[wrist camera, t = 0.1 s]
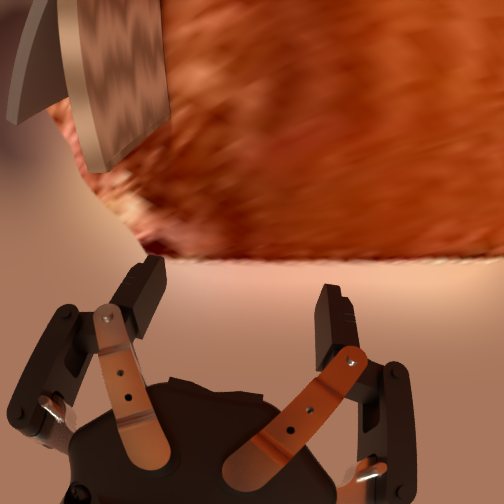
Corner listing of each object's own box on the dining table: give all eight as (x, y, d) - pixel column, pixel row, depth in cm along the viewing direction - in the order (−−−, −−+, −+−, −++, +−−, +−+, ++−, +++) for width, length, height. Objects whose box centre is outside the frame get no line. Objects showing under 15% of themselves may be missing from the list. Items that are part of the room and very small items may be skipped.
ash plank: (143, -2, 19) (56, -4, 9) (160, -6, 18) (77, -15, 8) (155, 119, 30) (89, 174, 20) (171, 117, 29) (107, 173, 20)
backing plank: (139, -32, 15) (46, -46, 5) (172, -22, 17) (86, -44, 6) (84, 79, 26) (-1, 123, 15) (111, 92, 27) (27, 141, 17)
